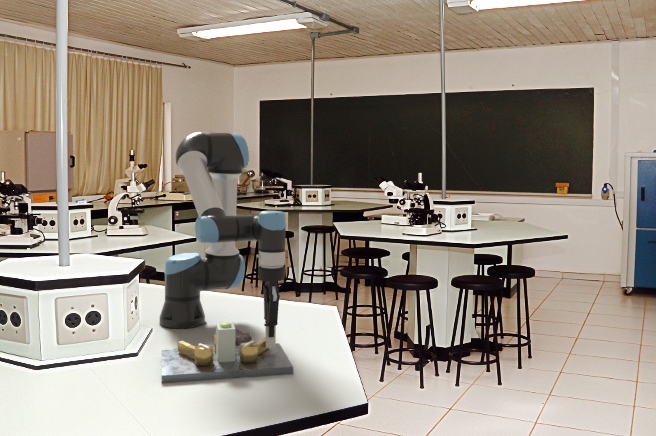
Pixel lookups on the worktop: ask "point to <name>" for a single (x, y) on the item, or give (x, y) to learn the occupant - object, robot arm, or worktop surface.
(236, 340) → the rock
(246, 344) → the knob
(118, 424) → the worktop surface
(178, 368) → the grey knob board
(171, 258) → the robot arm
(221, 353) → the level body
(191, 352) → the knob
